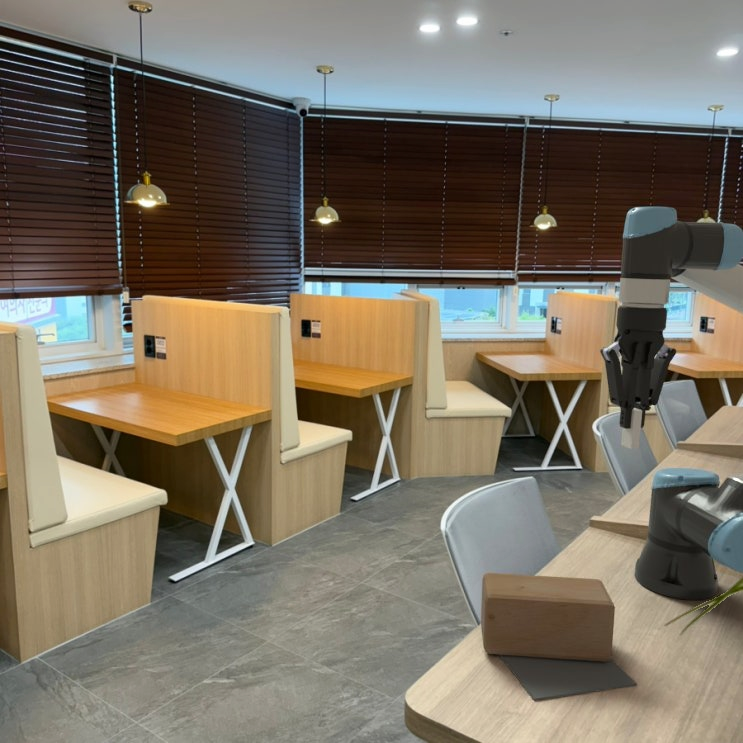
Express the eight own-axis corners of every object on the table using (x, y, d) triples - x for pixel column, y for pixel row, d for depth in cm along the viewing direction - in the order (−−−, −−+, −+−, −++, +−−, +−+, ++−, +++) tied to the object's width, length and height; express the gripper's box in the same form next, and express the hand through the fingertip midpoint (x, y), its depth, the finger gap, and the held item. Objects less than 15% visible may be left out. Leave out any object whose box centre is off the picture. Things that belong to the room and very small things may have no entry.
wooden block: (616, 604, 107) (486, 596, 109) (612, 664, 108) (483, 656, 110) (602, 577, 117) (482, 570, 118) (598, 632, 118) (480, 625, 120)
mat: (592, 642, 115) (592, 640, 115) (636, 685, 104) (636, 683, 104) (498, 654, 111) (498, 652, 111) (534, 700, 100) (534, 698, 100)
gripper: (662, 303, 117) (649, 439, 121) (593, 303, 113) (582, 442, 117) (693, 307, 109) (678, 451, 113) (621, 307, 106) (608, 455, 110)
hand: (629, 446), depth 115 cm, fingers closed
